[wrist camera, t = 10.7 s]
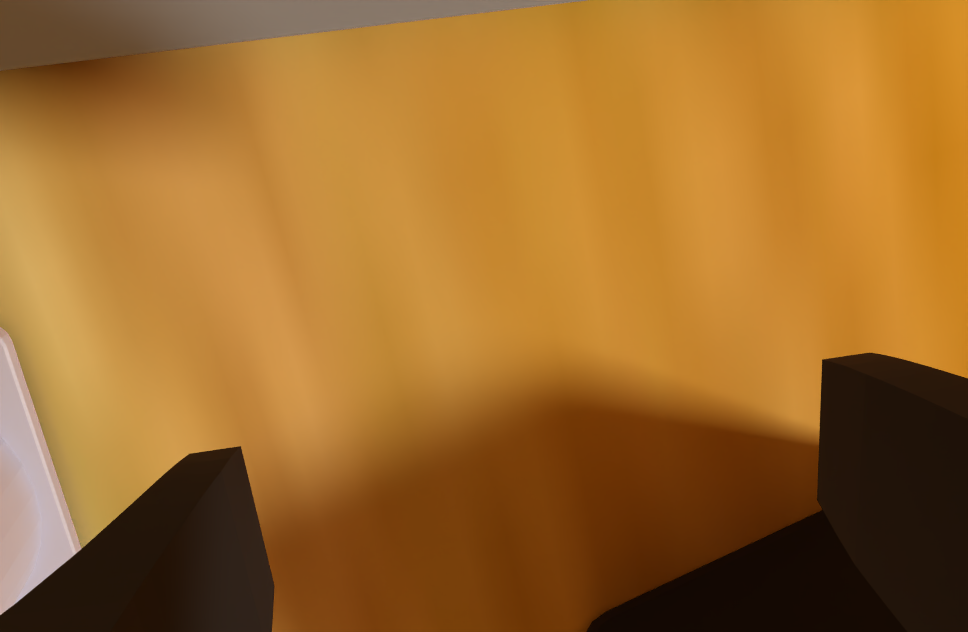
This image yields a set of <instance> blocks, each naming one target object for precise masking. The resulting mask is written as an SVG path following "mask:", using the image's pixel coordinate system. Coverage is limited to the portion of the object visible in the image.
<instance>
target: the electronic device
mask: <svg viewBox="0 0 968 632" xmlns="http://www.w3.org/2000/svg"><path fill="white" fill-rule="evenodd" d="M587 632H907V631H906V630H905V628H904V627H903V626H902V625H901V623H900V622H899V621H898V620H897V618H896V617H895V616H894V615H893V613H892V612H891V611H890V609H889V608H888V607H887V606H886V604H885V603H884V602H883V601H882V599H881V598H880V597H879V595H878V594H877V593H876V592H875V590H874V589H873V588H872V587H871V585H870V584H869V583H868V581H867V580H866V579H865V577H864V576H863V575H862V573H861V572H860V571H859V570H858V568H857V567H856V566H855V564H854V563H853V561H852V559H851V558H850V556H849V554H848V553H847V551H846V549H845V548H844V546H843V544H842V543H841V541H840V539H839V538H838V536H837V534H836V533H835V531H834V529H833V527H832V525H831V524H830V522H829V520H828V518H827V516H826V515H825V513H824V511H823V510H822V511H820V512H818V513H816V514H814V515H812V516H809V517H807V518H805V519H803V520H801V521H799V522H797V523H794V524H792V525H790V526H788V527H786V528H784V529H782V530H780V531H777V532H775V533H773V534H771V535H769V536H767V537H765V538H762V539H760V540H758V541H756V542H754V543H752V544H750V545H748V546H745V547H743V548H741V549H739V550H737V551H735V552H733V553H730V554H728V555H726V556H724V557H722V558H720V559H718V560H715V561H713V562H711V563H709V564H707V565H705V566H703V567H701V568H698V569H696V570H694V571H692V572H690V573H688V574H686V575H683V576H681V577H679V578H677V579H675V580H673V581H671V582H669V583H666V584H664V585H662V586H660V587H658V588H656V589H654V590H651V591H649V592H647V593H645V594H643V595H641V596H639V597H636V598H634V599H632V600H630V601H628V602H626V603H624V604H622V605H619V606H617V607H615V608H613V609H611V610H609V611H607V612H605V613H604V614H603V615H601V616H600V617H598V618H597V619H596V620H594V621H593V622H592V624H591V625H590V627H589V628H588V630H587Z"/></svg>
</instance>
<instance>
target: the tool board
mask: <svg viewBox="0 0 968 632" xmlns="http://www.w3.org/2000/svg"><path fill="white" fill-rule="evenodd" d="M577 1H585V0H0V71H2V70H10V69H18V68H27V67H35V66H44V65H52V64H60V63H68V62H77V61H85V60H93V59H102V58H110V57H119V56H127V55H135V54H143V53H152V52H160V51H168V50H177V49H185V48H193V47H202V46H210V45H218V44H227V43H235V42H243V41H252V40H260V39H268V38H277V37H285V36H293V35H302V34H310V33H318V32H327V31H335V30H343V29H352V28H360V27H368V26H377V25H385V24H393V23H402V22H410V21H418V20H427V19H435V18H443V17H452V16H460V15H468V14H477V13H485V12H493V11H502V10H510V9H518V8H527V7H535V6H543V5H552V4H560V3H568V2H577Z"/></svg>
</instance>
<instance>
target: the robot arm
mask: <svg viewBox="0 0 968 632" xmlns="http://www.w3.org/2000/svg"><path fill="white" fill-rule="evenodd" d="M817 500H818V502H819V504H820V506H821V507H822V509H823V511H824V513H825V515H826V516H827V518H828V520H829V522H830V524H831V525H832V527H833V529H834V531H835V533H836V534H837V536H838V538H839V539H840V541H841V543H842V544H843V546H844V548H845V549H846V551H847V553H848V554H849V556H850V558H851V559H852V561H853V563H854V564H855V566H856V567H857V568H858V570H859V571H860V572H861V573H862V575H863V576H864V577H865V579H866V580H867V581H868V583H869V584H870V585H871V587H872V588H873V589H874V590H875V592H876V593H877V594H878V595H879V597H880V598H881V599H882V601H883V602H884V603H885V604H886V606H887V607H888V608H889V609H890V611H891V612H892V613H893V615H894V616H895V617H896V618H897V620H898V621H899V622H900V623H901V625H902V626H903V627H904V628H905V630H906V631H907V632H968V379H967V378H964V377H961V376H958V375H954V374H951V373H948V372H945V371H942V370H938V369H935V368H932V367H928V366H925V365H921V364H918V363H914V362H911V361H907V360H903V359H899V358H895V357H891V356H886V355H881V354H875V353H864V354H857V355H851V356H844V357H837V358H830V359H824V360H822V383H821V410H820V436H819V463H818V490H817ZM273 602H274V582H273V578H272V574H271V570H270V566H269V562H268V558H267V553H266V549H265V545H264V541H263V537H262V533H261V528H260V524H259V520H258V516H257V512H256V508H255V503H254V499H253V495H252V491H251V487H250V483H249V479H248V474H247V470H246V466H245V462H244V458H243V454H242V449H241V446H239V447H233V448H226V449H219V450H213V451H206V452H199V453H192V454H189V455H187V456H186V457H185V458H183V459H182V460H181V461H179V462H178V463H177V464H176V465H174V466H173V467H172V468H171V469H170V470H169V471H168V472H166V473H165V474H164V475H163V476H162V477H161V478H160V479H159V480H157V481H156V482H155V483H154V484H153V485H152V486H151V487H150V488H149V489H148V490H146V491H145V492H144V493H143V494H142V495H141V496H140V497H139V498H138V499H137V500H136V501H134V502H133V503H132V504H131V505H130V506H129V507H128V508H127V509H126V510H125V511H123V512H122V513H121V514H120V515H119V516H118V517H117V518H116V519H115V520H113V521H112V522H111V523H110V524H109V525H108V526H107V527H106V528H105V529H103V530H102V531H101V532H100V533H99V534H98V535H97V536H96V537H95V538H94V539H92V540H91V541H90V542H89V543H88V544H87V545H86V546H84V547H83V548H82V549H81V546H80V543H79V540H78V537H77V534H76V531H75V528H74V525H73V522H72V519H71V516H70V513H69V510H68V507H67V504H66V501H65V498H64V495H63V492H62V489H61V486H60V483H59V480H58V477H57V474H56V471H55V468H54V465H53V462H52V459H51V456H50V453H49V450H48V447H47V444H46V441H45V438H44V435H43V432H42V429H41V426H40V423H39V420H38V417H37V414H36V411H35V408H34V405H33V402H32V399H31V396H30V393H29V390H28V387H27V384H26V381H25V378H24V375H23V372H22V369H21V366H20V363H19V360H18V357H17V354H16V351H15V348H14V345H13V342H12V340H11V338H10V336H9V335H8V333H7V332H6V331H5V330H3V329H2V328H1V327H0V632H272V619H273Z"/></svg>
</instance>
